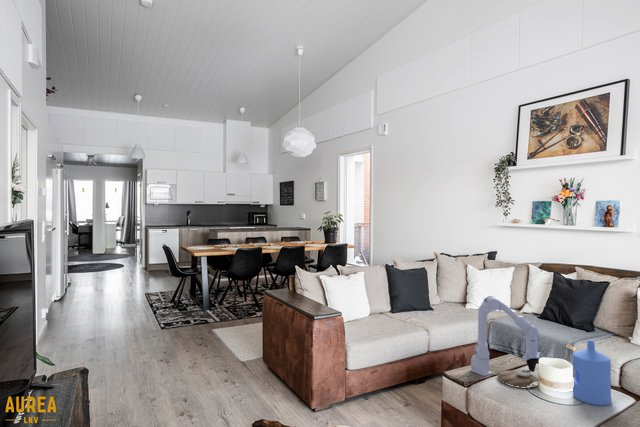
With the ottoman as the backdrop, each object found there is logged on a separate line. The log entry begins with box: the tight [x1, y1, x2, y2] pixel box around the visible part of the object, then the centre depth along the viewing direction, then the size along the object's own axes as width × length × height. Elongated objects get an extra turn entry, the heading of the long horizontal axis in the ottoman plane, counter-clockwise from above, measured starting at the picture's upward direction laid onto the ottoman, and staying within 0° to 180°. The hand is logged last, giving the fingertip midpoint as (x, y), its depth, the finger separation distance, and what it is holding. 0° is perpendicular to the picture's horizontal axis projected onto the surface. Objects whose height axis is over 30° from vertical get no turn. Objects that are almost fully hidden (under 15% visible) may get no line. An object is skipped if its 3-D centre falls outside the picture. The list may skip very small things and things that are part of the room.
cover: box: [515, 368, 532, 378], centre depth 223 cm, size 7×7×3 cm
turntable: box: [497, 370, 539, 387], centre depth 220 cm, size 20×20×4 cm
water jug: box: [572, 340, 612, 407], centre depth 198 cm, size 16×16×28 cm
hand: (531, 371), depth 227 cm, fingers closed
